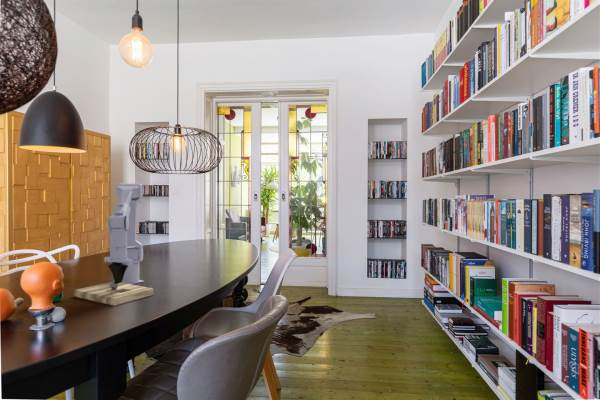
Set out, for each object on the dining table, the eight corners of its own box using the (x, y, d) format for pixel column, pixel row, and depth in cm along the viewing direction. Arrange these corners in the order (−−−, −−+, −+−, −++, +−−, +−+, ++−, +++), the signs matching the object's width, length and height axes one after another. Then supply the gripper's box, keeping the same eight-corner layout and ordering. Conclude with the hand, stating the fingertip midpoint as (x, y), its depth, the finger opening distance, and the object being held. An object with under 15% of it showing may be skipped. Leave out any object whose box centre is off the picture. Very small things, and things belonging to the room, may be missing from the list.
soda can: (66, 299, 129) (66, 267, 129) (52, 303, 125) (52, 269, 125) (56, 298, 131) (56, 266, 131) (42, 302, 126) (42, 268, 126)
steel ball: (111, 278, 135) (110, 286, 133) (120, 279, 136) (119, 287, 134) (108, 282, 136) (107, 290, 134) (117, 283, 138) (116, 291, 136)
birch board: (74, 296, 134) (74, 289, 134) (114, 287, 148) (114, 281, 148) (114, 305, 123) (114, 298, 123) (153, 294, 137) (153, 288, 137)
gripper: (96, 246, 134) (96, 282, 134) (121, 249, 127) (120, 287, 127) (114, 244, 140) (114, 279, 140) (138, 247, 133) (138, 283, 133)
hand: (118, 282), depth 134 cm, fingers closed
